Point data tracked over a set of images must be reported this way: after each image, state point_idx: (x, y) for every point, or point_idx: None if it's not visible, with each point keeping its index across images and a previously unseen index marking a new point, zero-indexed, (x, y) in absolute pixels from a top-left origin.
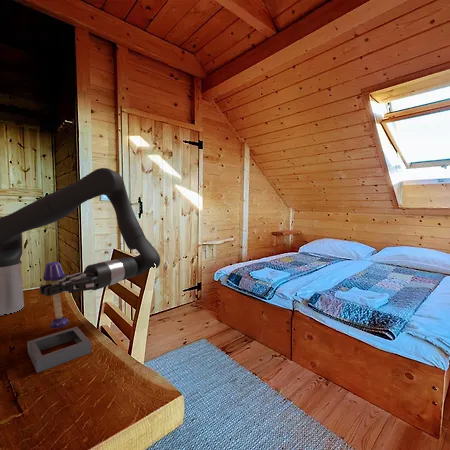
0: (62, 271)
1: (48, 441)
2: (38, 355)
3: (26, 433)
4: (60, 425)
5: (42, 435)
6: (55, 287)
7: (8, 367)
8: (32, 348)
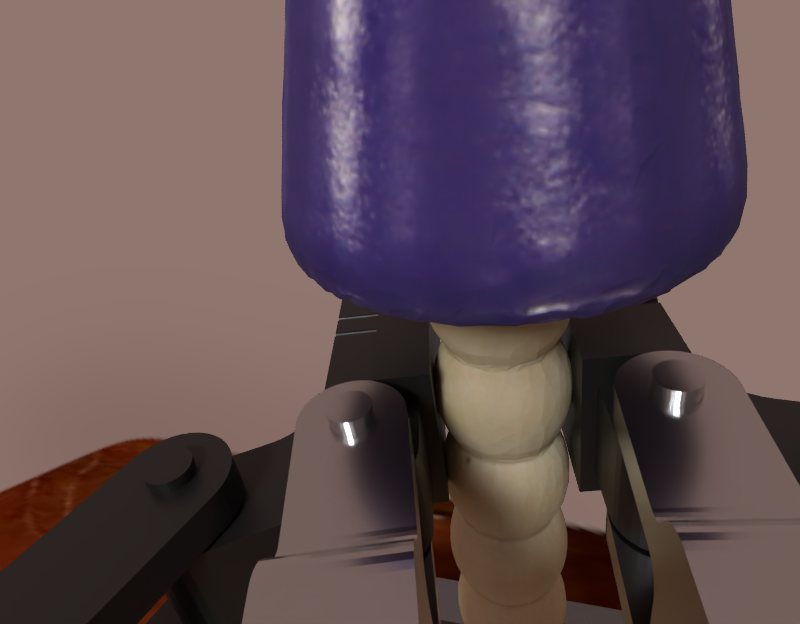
0: (325, 129)
1: (11, 495)
2: (439, 600)
3: (106, 471)
4: (10, 537)
5: (47, 493)
6: (364, 333)
7: (600, 546)
8: (582, 614)
